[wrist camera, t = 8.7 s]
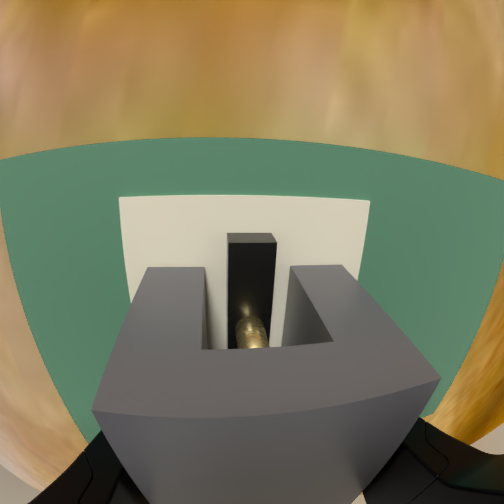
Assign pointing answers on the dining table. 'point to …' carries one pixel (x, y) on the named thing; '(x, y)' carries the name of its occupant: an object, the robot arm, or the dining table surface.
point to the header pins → (249, 289)
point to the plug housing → (260, 395)
